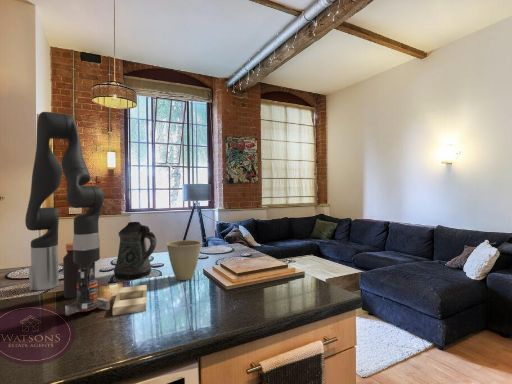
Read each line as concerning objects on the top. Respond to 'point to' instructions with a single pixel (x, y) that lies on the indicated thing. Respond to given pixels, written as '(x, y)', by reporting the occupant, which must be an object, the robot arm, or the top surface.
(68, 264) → the vinegar
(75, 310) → the aluminium v block
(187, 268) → the plant pot
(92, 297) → the supplement bottle
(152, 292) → the top surface
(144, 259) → the beer stein
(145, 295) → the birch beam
